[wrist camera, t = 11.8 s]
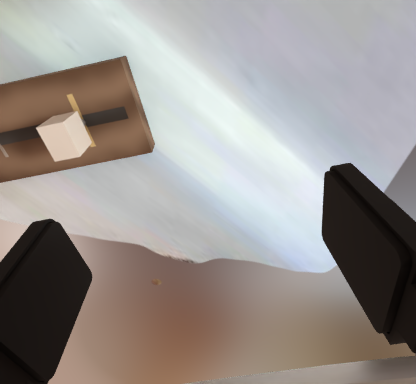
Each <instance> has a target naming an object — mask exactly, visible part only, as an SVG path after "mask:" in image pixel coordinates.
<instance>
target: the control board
mask: <svg viewBox="0 0 416 384" xmlns="http://www.w3.org/2000/svg"><path fill="white" fill-rule="evenodd" d="M75 111H78V114H79V116H80V118H81V119H83V120H84V121H85V122H86V125H85V129H86V131H87V133H88V135H89V137H90V140H91V142H92V143H91V145H90V146H89V147H88V148H87V149H86V150H85V152H84V153H83V154H82V155H81V156H80V157H76V158H71V159H66V160H61V161H56V162H55V161H54V159H53V157H52V156H51V154H50V152H49V150H48V149H47V147H46V145H45V143H44V142H43V140H42V138H41V136H40V135H39V133H38V131H37V129H36V127H38V126H39V125H41V124H42V123H44V122H45V121H47V120H48V119H50V118H51V117H53V116H56V115H61V114H66V113H70V112H75ZM154 145H155V143H154V140H153V137H152V134H151V131H150V128H149V125H148V122H147V119H146V115H145V112H144V109H143V106H142V103H141V100H140V97H139V94H138V91H137V88H136V85H135V82H134V79H133V76H132V73H131V69H130V66H129V63H128V60H127V57H126V56H123V57H119V58H114V59H110V60H106V61H101V62H97V63H93V64H88V65H84V66H79V67H75V68H71V69H66V70H62V71H58V72H53V73H49V74H44V75H40V76H36V77H31V78H27V79H23V80H18V81H14V82H9V83H5V84H1V85H0V183H1V182H6V181H11V180H16V179H21V178H26V177H31V176H36V175H41V174H46V173H51V172H56V171H61V170H66V169H71V168H76V167H81V166H86V165H91V164H96V163H101V162H106V161H111V160H116V159H121V158H126V157H131V156H136V155H141V154H146V153H151V152H152V151H153V148H154Z"/></svg>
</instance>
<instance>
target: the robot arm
mask: <svg viewBox="0 0 416 384" xmlns="http://www.w3.org/2000/svg"><path fill="white" fill-rule="evenodd" d="M322 237H323V240H324V242H325V244H326V246H327V248H328V249H329V251H330V253H331V255H332V256H333V258H334V260H335V261H336V263H337V265H338V266H339V268H340V270H341V272H342V274H343V275H344V277H345V279H346V280H347V282H348V284H349V286H350V287H351V289H352V291H353V293H354V294H355V296H356V298H357V300H358V301H359V303H360V305H361V306H362V308H363V310H364V312H365V313H366V315H367V317H368V319H369V320H370V322H371V324H372V325H373V327H374V329H375V330H376V331H377V332H378V333H383V334H384V335H385V337H386V339H387V340H388V342H389V344H390V345H392V344H399V343H407V344H408V346H409V348H410V349H411V351H412V352H414V353H415V356H409V357H396V358H387V359H378V360H370V361H360V362H351V363H342V364H333V365H324V366H316V367H309V368H301V369H293V370H286V371H278V372H270V373H263V374H255V375H247V376H239V377H231V378H224V379H216V380H209V381H201V382H194V383H186V384H416V222H415V221H414V220H413V219H412V218H411V217H410V216H409V215H408V214H406V213H405V212H404V211H403V210H402V209H401V208H400V207H399V206H398V205H397V204H396V203H395V202H393V201H392V200H391V199H390V198H388V197H387V196H386V195H385V194H384V193H383V192H382V191H381V190H380V189H379V188H378V187H377V186H375V185H374V184H373V183H372V182H371V181H370V180H369V179H368V178H367V177H366V176H365V175H364V174H362V173H361V172H360V171H359V170H358V169H357V168H356V167H355V166H354V165H353V164H351V163H346V164H341V165H335V166H332V167H331V168H330V171H327V172H325V176H324V195H323V216H322ZM91 281H92V273H91V271H90V269H89V267H88V266H87V264H86V263H85V261H84V260H83V258H82V257H81V255H80V253H79V252H78V250H77V249H76V247H75V246H74V244H73V243H72V241H71V240H70V238H69V236H68V235H67V233H66V232H65V230H64V229H63V227H62V226H61V224H60V223H59V222H55V221H54V220H53V219H46V220H41V221H36V222H33V223H32V224H31V225H30V226H29V227H28V229H27V230H26V231H25V232H24V233H23V235H22V236H21V237H20V239H19V240H18V241H17V242H16V243H15V245H14V246H13V247H12V248H11V250H10V251H9V252H8V253H7V255H6V256H5V257H4V258H3V260H2V261H1V262H0V384H47V383H48V381H49V380H50V379H51V378H52V377H53V376H54V374H55V372H56V369H57V367H58V364H59V362H60V359H61V356H62V354H63V352H64V349H65V346H66V344H67V342H68V339H69V337H70V334H71V332H72V329H73V326H74V324H75V321H76V319H77V316H78V314H79V311H80V309H81V306H82V303H83V301H84V299H85V296H86V294H87V291H88V289H89V286H90V284H91Z"/></svg>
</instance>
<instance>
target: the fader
mask: <svg viewBox="0 0 416 384" xmlns="http://www.w3.org/2000/svg"><path fill="white" fill-rule="evenodd" d="M85 125H86V122H85V121H84V120H83V119H81V118H80V116H79V114H78V111H75V112H70V113H66V114H61V115H56V116H53V117H51V118H50V119H48V120H47V121H45V122H44V123H42V124H41V125H39V126H38V127H36V129H37V131H38V133H39V135H40V136H41V138H42V140H43V142H44V143H45V145H46V147H47V149H48V150H49V152H50V154H51V156H52V157H53V159H54V161H55V162H56V161H61V160H66V159H71V158H76V157H80V156H81V155H82V154H83V153H84V152H85V150H86V149H87V148H88V147H89V146H90V145H91V143H92V142H91V140H90V137H89V135H88V133H87V131H86V129H85Z"/></svg>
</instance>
